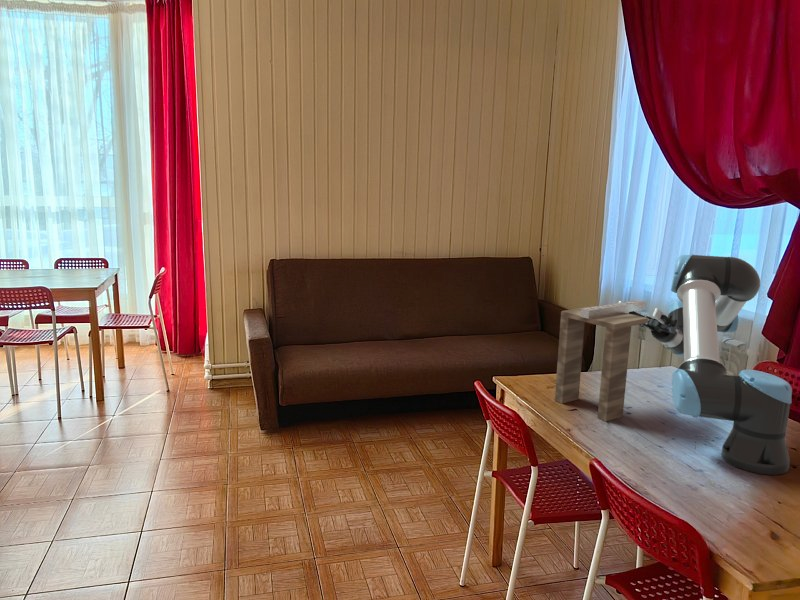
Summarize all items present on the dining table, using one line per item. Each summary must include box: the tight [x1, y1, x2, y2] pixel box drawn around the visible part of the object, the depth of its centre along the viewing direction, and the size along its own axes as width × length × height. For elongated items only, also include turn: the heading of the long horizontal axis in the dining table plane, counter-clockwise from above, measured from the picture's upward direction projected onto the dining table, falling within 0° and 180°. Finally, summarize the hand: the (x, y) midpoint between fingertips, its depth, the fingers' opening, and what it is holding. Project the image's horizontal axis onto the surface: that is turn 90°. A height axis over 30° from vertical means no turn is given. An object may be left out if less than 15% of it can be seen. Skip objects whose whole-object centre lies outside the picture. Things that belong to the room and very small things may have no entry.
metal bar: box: [581, 299, 647, 319], centre depth 188 cm, size 3×28×2 cm, turn 124°
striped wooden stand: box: [554, 305, 649, 422], centre depth 189 cm, size 20×16×30 cm
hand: (636, 308), depth 195 cm, fingers open, 13 cm apart
